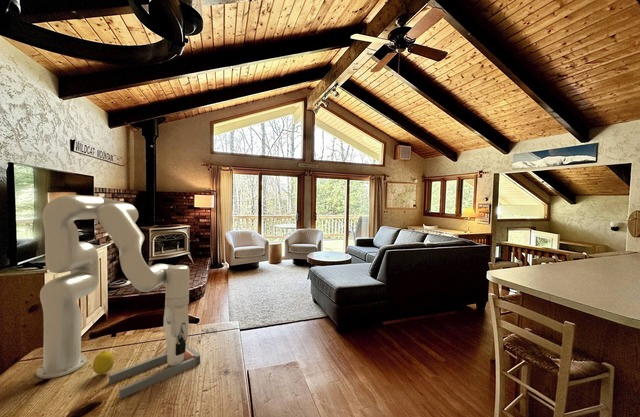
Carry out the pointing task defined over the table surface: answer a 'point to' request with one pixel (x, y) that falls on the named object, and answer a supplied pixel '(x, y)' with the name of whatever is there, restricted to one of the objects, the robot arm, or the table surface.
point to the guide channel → (191, 361)
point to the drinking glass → (172, 348)
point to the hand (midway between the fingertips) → (176, 349)
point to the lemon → (103, 362)
